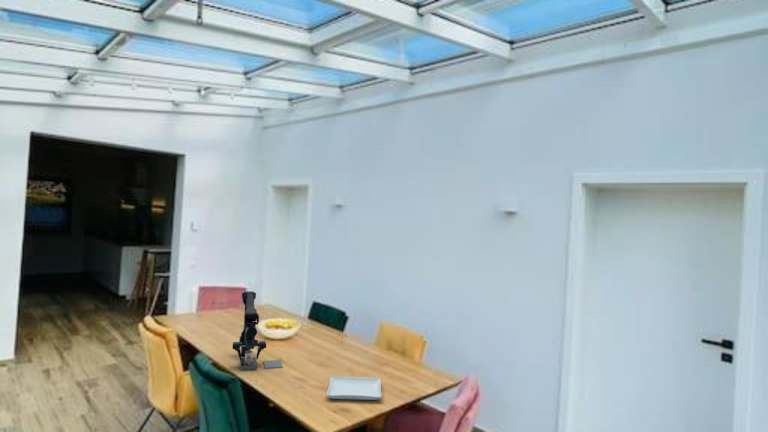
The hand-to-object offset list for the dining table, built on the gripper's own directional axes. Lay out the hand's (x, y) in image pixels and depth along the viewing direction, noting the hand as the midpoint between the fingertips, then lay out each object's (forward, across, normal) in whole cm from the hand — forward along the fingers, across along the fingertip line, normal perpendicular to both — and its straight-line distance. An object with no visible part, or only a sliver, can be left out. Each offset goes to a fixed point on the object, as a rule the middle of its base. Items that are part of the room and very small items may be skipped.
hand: (248, 359), depth 268 cm
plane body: (+4, 0, 0) cm, 4 cm away
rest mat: (+4, +14, 0) cm, 14 cm away
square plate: (+4, +51, -50) cm, 72 cm away
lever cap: (0, 0, 0) cm, 0 cm away
